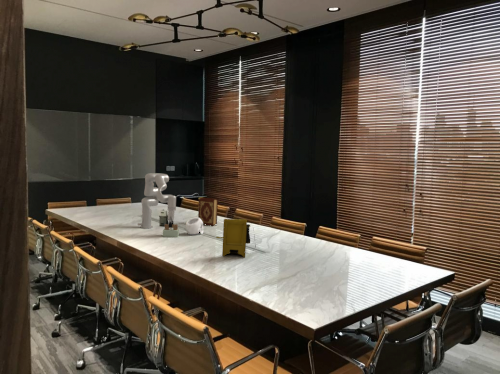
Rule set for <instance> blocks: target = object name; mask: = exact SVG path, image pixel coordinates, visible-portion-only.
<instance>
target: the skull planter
mask: <svg viewBox="0 0 500 374" xmlns="http://www.w3.org/2000/svg"><path fill="white" fill-rule="evenodd" d="M204 226H205V225H203V222H202V220H201V219H200V218H199V217H198V216H196V217H192V218H189V219H188V220H187V221H186V223H185V225H184V228H185V231H186V233H187V234H188V235H190V236H191V235H193V236H195V235H197V234H201V235H203V234H204ZM199 232H200V233H199Z"/></svg>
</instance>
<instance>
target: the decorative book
mask: <svg viewBox="0 0 500 374" xmlns="http://www.w3.org/2000/svg"><path fill="white" fill-rule="evenodd" d="M218 203H219V199H218V198H213V197H211V198H210V197H209V198H208V197H198V205H197V206H198V212H197V213H198V214H197V217H199V218H200V219H201V220H202V222H203V224H206V225H205V226H208V225H213V226H216V225H215V224H217V225H218V206H219V204H218Z"/></svg>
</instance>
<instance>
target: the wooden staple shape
mask: <svg viewBox="0 0 500 374" xmlns="http://www.w3.org/2000/svg"><path fill="white" fill-rule="evenodd" d="M178 225H179V224H175V223H173V224H172V229H173V230H178V229H179V228H178V227H179V226H178ZM163 226H164V229H165V230H169V229H170V228H169V223H168V224H167V223H165V224H164V225H163Z"/></svg>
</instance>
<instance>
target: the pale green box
mask: <svg viewBox="0 0 500 374" xmlns="http://www.w3.org/2000/svg"><path fill="white" fill-rule="evenodd" d="M179 236H180V229H179V228H178V230H173V228H169V230H165V228H163V230H162V238H179Z"/></svg>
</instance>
